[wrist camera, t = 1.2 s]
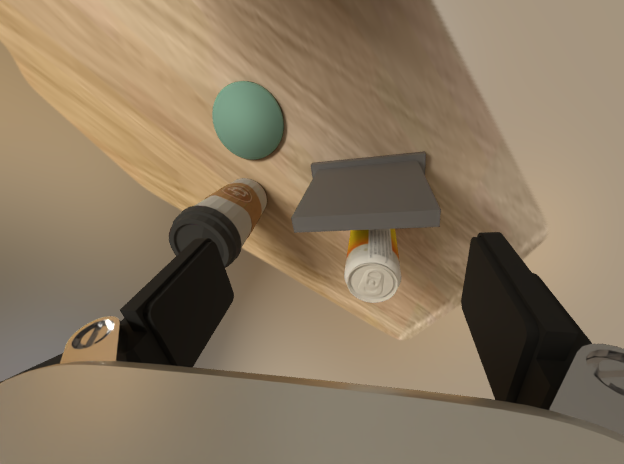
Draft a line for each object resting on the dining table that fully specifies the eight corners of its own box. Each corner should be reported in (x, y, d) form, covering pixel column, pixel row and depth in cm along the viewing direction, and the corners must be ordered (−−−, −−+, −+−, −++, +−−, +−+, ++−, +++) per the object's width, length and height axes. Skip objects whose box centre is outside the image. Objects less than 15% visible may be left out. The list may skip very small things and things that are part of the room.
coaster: (204, 87, 37) (202, 88, 37) (274, 74, 35) (273, 74, 35) (226, 161, 42) (225, 162, 42) (289, 154, 40) (288, 155, 39)
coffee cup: (281, 184, 42) (241, 234, 30) (265, 227, 47) (224, 286, 34) (230, 161, 42) (168, 201, 29) (219, 206, 46) (161, 258, 34)
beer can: (349, 232, 44) (339, 299, 32) (356, 197, 41) (348, 255, 28) (388, 240, 44) (393, 310, 31) (398, 204, 40) (409, 267, 28)
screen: (312, 162, 40) (279, 211, 26) (424, 151, 36) (454, 201, 23) (315, 183, 41) (285, 239, 28) (423, 174, 38) (451, 233, 24)
